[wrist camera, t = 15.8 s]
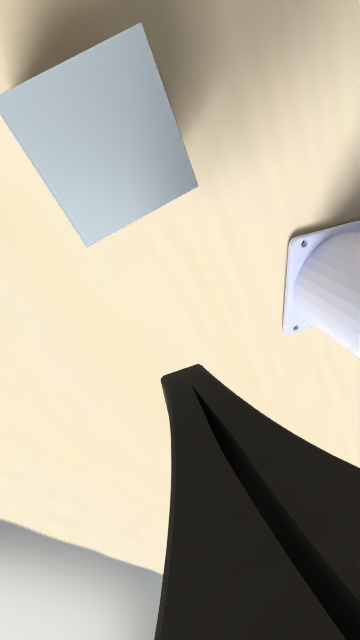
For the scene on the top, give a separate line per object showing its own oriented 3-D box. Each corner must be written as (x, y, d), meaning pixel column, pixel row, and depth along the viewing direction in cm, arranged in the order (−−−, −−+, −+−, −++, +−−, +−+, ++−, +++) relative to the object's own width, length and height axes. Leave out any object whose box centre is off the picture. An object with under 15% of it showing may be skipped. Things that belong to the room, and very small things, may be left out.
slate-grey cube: (115, 57, 13) (141, 21, 9) (162, 173, 16) (198, 186, 12) (11, 111, 13) (-10, 99, 9) (79, 218, 16) (86, 247, 12)
